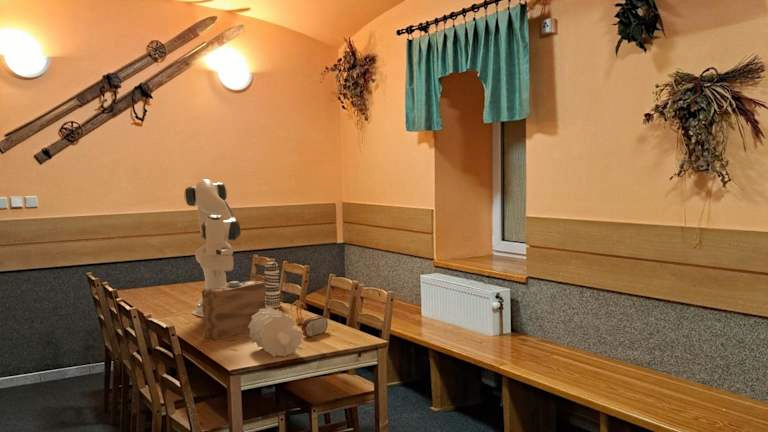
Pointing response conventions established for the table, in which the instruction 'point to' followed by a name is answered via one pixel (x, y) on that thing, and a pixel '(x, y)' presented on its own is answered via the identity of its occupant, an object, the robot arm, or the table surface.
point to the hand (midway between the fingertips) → (216, 279)
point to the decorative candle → (272, 285)
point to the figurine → (299, 318)
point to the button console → (231, 309)
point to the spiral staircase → (275, 332)
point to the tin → (314, 326)
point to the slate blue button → (233, 284)
